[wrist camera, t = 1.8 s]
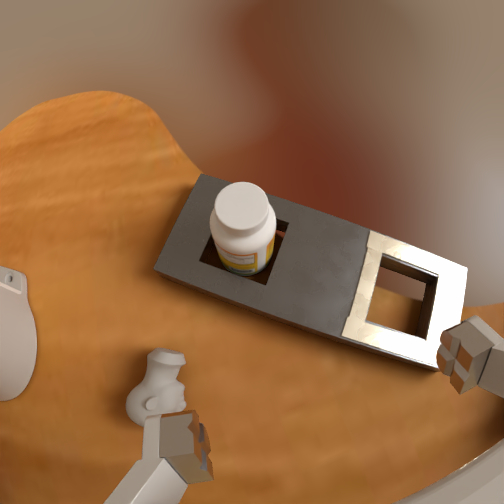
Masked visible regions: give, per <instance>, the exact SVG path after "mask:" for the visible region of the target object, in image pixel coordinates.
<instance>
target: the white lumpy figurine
mask: <svg viewBox="0 0 504 504" xmlns="http://www.w3.org/2000/svg"><path fill="white" fill-rule="evenodd" d="M184 364H186V362H185V358H184V354H183V353H180V352H177V351H174V350H170V349H165V348H155V349H154V350H153V351H152V352H151V353H150V354H148V355H147V371H146V375H145V377H144V379H143V381H142V382H141V383H140V384H139V385H137V386H136V387H135V388H134V389H133V390H132V391H131V392H130V393H129V395H128V397H127V400H126V411H127V414H128V416H129V417H130V419H131V420H132V421H133V422H135V423H136V424H138V425H140V426H142V427H144V422H145V419H146V417H147V416H151V415H159V414H166V413H174V412H181V411H182V410H183V409H184V408H185V407H186V402H185V401H184V396H183V395H184V393H183V391H184V389H185V387H184V385H183V384H182V383H180V382H179V381H177V380H176V377H177V375H178V372H179V370H180V367H181V366H183V365H184Z"/></svg>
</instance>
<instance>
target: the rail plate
mask: <svg viewBox="0 0 504 504" xmlns="http://www.w3.org/2000/svg"><path fill="white" fill-rule="evenodd" d="M230 184H233V183H231V182H228V181H224V180H221V179H218V178H215V177H211V176H208V175H204V174H200V176H199V178H198V180H197V182H196V184H195V186H194V187H193V189H192V191H191V193H190V195H189V197H188V199H187V201H186V203H185V205H184V207H183V209H182V211H181V213H180V215H179V217H178V219H177V221H176V223H175V225H174V227H173V229H172V231H171V233H170V235H169V237H168V239H167V241H166V243H165V245H164V247H163V249H162V251H161V253H160V255H159V258H158V260H157V262H156V264H155V266H154V268H153V269H154V270H155V271H156V272H157V273H158V274H159V275H160V276H161V277H163V278H165V279H168V280H170V281H173V282H175V283H178V284H180V285H183V286H185V287H188V288H190V289H193V290H195V291H198V292H200V293H203V294H206V295H208V296H211V297H213V298H216V299H219V300H221V301H224V302H226V303H229V304H232V305H234V306H237V307H240V308H242V309H245V310H248V311H250V312H253V313H256V314H259V315H261V316H264V317H267V318H270V319H273V320H275V321H278V322H281V323H284V324H287V325H289V326H292V327H295V328H298V329H301V330H304V331H307V332H310V333H313V334H316V335H319V336H322V337H325V338H328V339H331V340H334V341H337V342H340V343H343V344H346V345H349V346H352V347H355V348H358V349H362V350H365V351H368V352H371V353H374V354H378V355H381V356H384V357H388V358H391V359H394V360H398V361H401V362H404V363H408V364H411V365H415V366H418V367H422V368H425V369H429V370H432V371H436V372H441V371H440V370H439V368H438V365H437V362H436V352H437V349H438V347H439V346H440V344H441V342H440V341H439V337H440V334H441V333H442V331H444V330H446V329H448V328H450V327H452V326H454V325H456V324H458V323H460V318H461V313H462V306H463V300H464V292H465V285H466V276H467V268H466V267H463V266H461V265H459V264H456V263H454V262H451V261H449V260H447V259H444V258H442V257H439V256H437V255H435V254H432V253H429V252H427V251H424V250H422V249H420V248H417V247H415V246H412V245H409V244H407V243H404V242H402V241H399V240H397V239H394V238H391V237H389V236H386V235H384V234H381V233H378V232H376V231H373V230H370V229H368V228H365V227H362V226H359V225H357V224H354V223H351V222H349V221H346V220H343V219H340V218H338V217H335V216H332V215H329V214H326V213H323V212H321V211H318V210H315V209H312V208H309V207H306V206H303V205H300V204H297V203H294V202H291V201H288V200H285V199H282V198H279V197H276V196H273V195H269V194H266V193H265V194H266V196H267V198H268V202H269V204H270V205H271V207H272V208H273V210H274V213H275V216H276V230H279V231H282V232H285V236H284V239H283V241H282V244H281V247H280V249H279V252H278V255H277V257H276V260H275V263H274V266H273V268H272V271H271V274H270V276H269V279H268V282H267V284H266V285H263V284H260V283H257V282H255V281H252V280H249V279H246V278H243V277H241V276H238V275H235V274H232V273H230V272H227V271H224V270H222V269H219V268H216V267H213V266H211V265H208V264H205V263H206V261H207V259H208V256H209V254H210V252H211V250H212V247H213V245H214V243H215V242H214V239H213V237H212V234H211V230H210V216H211V213H212V211H213V209H214V205H215V200H216V197H217V195H218V194H219V193H220V191H221V190H222V189H224V188H225V187H226V186H228V185H230ZM379 266H381V267H384V268H386V269H389V270H392V271H395V272H397V273H400V274H403V275H405V276H408V277H411V278H413V279H416V280H419V281H421V282H424V283H426V288H425V293H424V298H423V303H422V308H421V313H420V317H419V322H418V326H417V331H416V335H415V336H412V335H409V334H406V333H403V332H400V331H397V330H394V329H391V328H388V327H385V326H382V325H379V324H376V323H373V322H370V321H367V320H366V317H367V313H368V309H369V306H370V302H371V298H372V294H373V291H374V287H375V283H376V279H377V274H378V270H379Z"/></svg>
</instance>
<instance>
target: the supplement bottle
mask: <svg viewBox="0 0 504 504" xmlns="http://www.w3.org/2000/svg"><path fill="white" fill-rule="evenodd" d="M210 230H211V234H212V237H213V239H214V242H215V245H216V249H217V252H218V255H219V258H220V260H221V262H222V264H223V265H224V267H225V268H226V269H227V270H229V271H230V272H232V273H234V274H237V275H241V276H250V275H254V274H257V273H259V272H261V271H262V270H263V269H264V268H266V266H267V265H268V264H269V262H270V260H271V258H272V254H273V246H274V239H275V232H276V216H275V213H274V210H273V208H272V207H271V205H270V204H269V202H268V198H267V196H266V194H265V192H264V191H263V190H262V189H260V187H258V186H256V185H254V184H252V183H248V182H237V183H233V184H230V185H228V186H226V187H225V188H224V189H222V190H221V191H220V193H219V194H218V195H217V197H216V200H215V205H214V209H213V211H212V213H211V216H210Z"/></svg>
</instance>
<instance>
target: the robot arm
mask: <svg viewBox="0 0 504 504" xmlns="http://www.w3.org/2000/svg"><path fill="white" fill-rule="evenodd" d="M11 280H12V281H11ZM439 341H440V342H441V344H440V346H439V347H438V349H437V352H436V362H437V365H438V368H439V370H440V371H441V372H442V373H443V374H444V375H447V376H450V383H451V384H452V386H453V387H454V388H455V389H456V391H457V392H458V393H459V394H462V393H464V392H466V391H468V390H469V389H471V388H473V387H475V386H477V385H478V386H479V387H481V388H483V389H485V390H487V391H489V392H491V393H494V394H496V395H498V396H500V397H502V398H504V339H503V338H502V337H501V336H500V335H499V334H497V333H496V332H495V331H494V330H493V329H492V328H491V327H490V326H489V325H487V324H486V323H485V322H484V321H483V320H482V319H481V318H480V317H478V316H475V315H474V316H472V317H470V318H468V319H466V320H464V321H462V322H460V323H458V324H456V325H454V326H452V327H450V328H448V329H446V330H444V331H442V333H441V334H440V337H439ZM36 353H37V336H36V328H35V322H34V318H33V315H32V312H31V309H30V307H29V304H28V300H27V279H26V276H25V274H24V273H22V272H19V271H15V270H12V269H9V268H6V267H3V266H0V401H7V400H11V399H13V398H15V397H17V396H18V395H19V394H20V393H21V392H22V391H23V390H24V389H25V387H26V386H27V384H28V382H29V380H30V378H31V376H32V373H33V370H34V366H35V361H36ZM210 451H211V449H210V442H209V437H208V434H207V431H206V429H205V427H204V425H203V424H202V423H199V416H198V414H197V412H196V411H195V410H188V411H181V412H174V413H166V414H159V415H151V416H147V417H146V419H145V422H144V434H143V448H142V460H137V461H136V463H135V464H134V465H133V467H132V468H131V469H130V470H129V472H128V473H127V474H126V476H125V477H124V478H123V479H122V481H121V482H120V483H119V485H118V486H117V487H116V488H115V490H114V491H113V492H112V493H111V495H110V496H109V497H108V499H107V500H106V501H105V502H104V504H178V503H179V501H180V500H181V498H182V496H183V494H184V492H185V490H186V488H187V486H188V485H187V484H192V483H198V482H205V481H211V480H214V477H213V467H212V462H211V460H210V459H209V457H208V454H209V453H210ZM392 504H504V438H503V439H502V440H501V441H499V442H498V443H496V444H495V445H494V446H492V447H491V448H489V449H488V450H487V451H485V452H484V453H482V454H481V455H479V456H478V457H476V458H475V459H473V460H472V461H470V462H469V463H467V464H466V465H464V466H462V467H461V468H459V469H457V470H456V471H454V472H452V473H451V474H449V475H447V476H446V477H444V478H442V479H440V480H438V481H437V482H435V483H433V484H431V485H429V486H427V487H425V488H424V489H422V490H420V491H418V492H416V493H414V494H412V495H410V496H407V497H405V498H403V499H401V500H399V501H397V502H394V503H392Z"/></svg>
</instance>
